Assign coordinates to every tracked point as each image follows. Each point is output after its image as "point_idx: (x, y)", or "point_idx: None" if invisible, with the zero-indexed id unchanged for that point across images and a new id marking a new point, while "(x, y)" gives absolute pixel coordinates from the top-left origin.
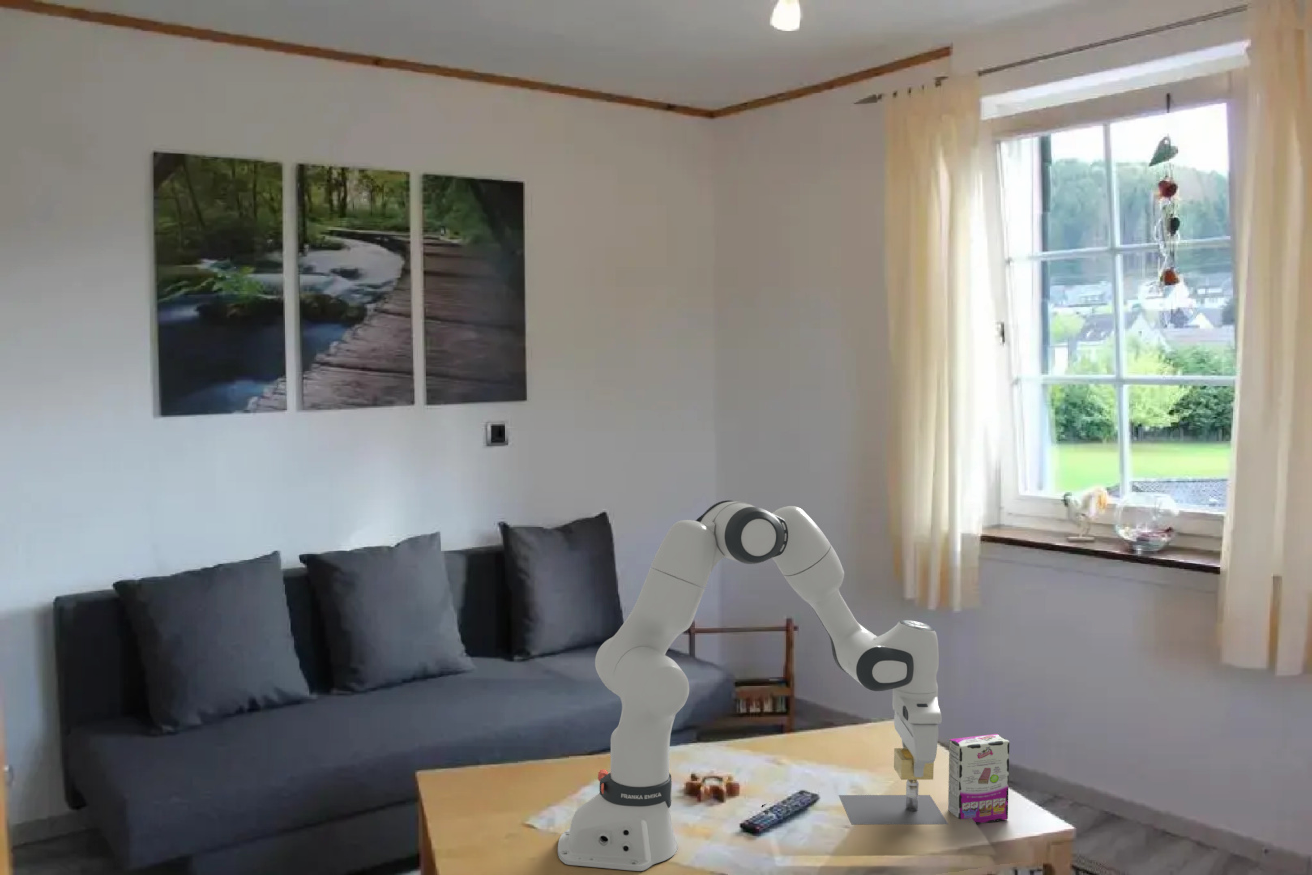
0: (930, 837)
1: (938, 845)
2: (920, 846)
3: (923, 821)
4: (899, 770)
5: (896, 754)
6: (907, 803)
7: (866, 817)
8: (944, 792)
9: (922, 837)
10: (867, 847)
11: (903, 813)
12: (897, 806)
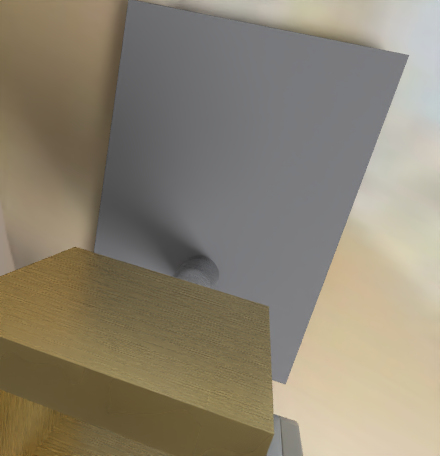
0: (72, 244)
1: (29, 239)
2: (27, 191)
3: None
4: (94, 275)
5: (162, 366)
6: (188, 264)
7: (171, 85)
8: (332, 439)
9: (75, 224)
10: (33, 27)
11: (174, 231)
12: (230, 240)
